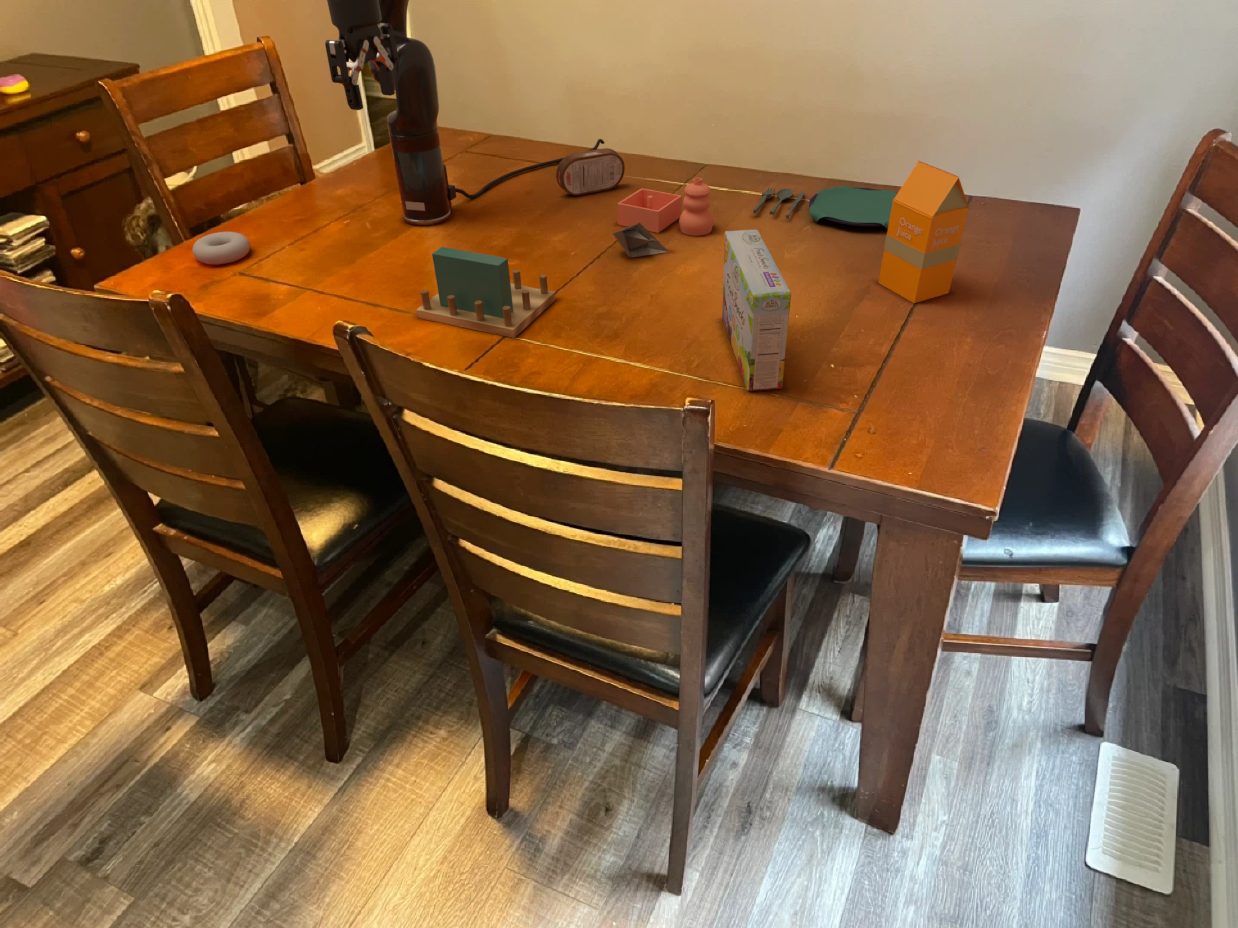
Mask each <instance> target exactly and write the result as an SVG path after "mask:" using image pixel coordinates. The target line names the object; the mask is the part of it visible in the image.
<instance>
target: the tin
mask: <svg viewBox="0 0 1238 928" xmlns="http://www.w3.org/2000/svg"><path fill="white" fill-rule="evenodd" d="M564 157H565V158H564ZM564 157H562V158H563V159H562V161H561V162H559V163H558V165H557V168H556V173H555V176H556V177H555V178H556V182H557V185H558V186H559V188H561V189H562V190H563V191H564V192H565V193H567V194H569V195H571V196H583V195H587V194H594V193H599V192H604V191H609V190H613V189H614V188H617V186H619V184H620V183H621V181H622V180H623V178H624V175H625V170H626V169H625V168H626V167H625V166H626V165H625V161H624V159H623V158H622V156H620V154H618V152H617V151H616V150H614V149H612V148H609V147H605V148H597V149H596V150H591V151H588V150H585V151H579V152H573V153H569V154H567V155H566V156H564Z"/></svg>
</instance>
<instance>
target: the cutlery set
mask: <svg viewBox="0 0 1238 928" xmlns="http://www.w3.org/2000/svg"><path fill="white" fill-rule="evenodd" d="M775 190H776V188H775V187H774V188H773V187H771V188H770V187H767V189H766V190H765V191H764V192H762V193H761V200H760V201H759V202H758V204H757V205H756V206H755V207H754V208H753V211H752V214H758V212H759V210H760V209H761V208H763V205H764V203H765V202H766V200H769V199H772V197H773V195H774V192H775ZM897 194H898V192H895V191H892V190H882V189H876V188H869V187H854V186H847V185H846V186H845V185H843V186H836V187H830V188H825V189H821V190H819V191H818V193H815V194H813V196H811V198H809V202H808V207H809V215H810V217H811V218H812V220H813V221H814V222H815V223H818V221H819V220H820V219H823V220H827V221H829V222H833V223H836V224H841V225H847V226H853V227H885V229H888V225H889V220H890V214H891V209H892V203H893V199H894V198H895V197H896V195H897ZM793 195H794V191H793V190H792V189H791V188H783V189H779V190H778V191H777V192H776V198H778V199H779V200H778V201H777V202H776V203H775V204H774V206H773V207H772V208H771V210H770V211H769V216H770V215H771V216H774V215H775V214H776V211H777V210H778V208H779V206H780V205H781V204H782V202H783V201H786V200H789V199H790V198H792V197H793ZM804 196H805V191H803V190H801V191H800V193H799V194H798V196H797V198H796V199H795V201H794V200H793V201H791V202H792V203H791V204H790V205H791V206H790V209H789V211H788V213H787V214H785V219H787V220H789V219H790V216H791V214H792V212H793V211H794V209H796V208H799V203H800V202H801V201H802V199H803V198H804Z"/></svg>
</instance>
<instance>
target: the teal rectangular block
mask: <svg viewBox="0 0 1238 928" xmlns="http://www.w3.org/2000/svg"><path fill="white" fill-rule="evenodd" d="M431 256H432V262H433V269H434V273H435V274H434V275H435V280H436V286H437V292H438V293H439V299H440V305H441V306H445V307H449V306H448V299H447V297H448V296H449V295H454V296H455V301H456V307H457V309H459V310H464V311H469V312H474V313H476V310H475V301H482V304H483V312H484V315H489V316H494V317H499V318H504V317H503V307H504V306H509V307H510V309H511V313H512V312H513V303H512V294H511V284H512V283H511V277H510V276H511V275H510V267H509V258H508V257H502V256H497V255H491V254H487V253H486V254H484V253H479V252H474V251H469V250H462V249H457V248H450V247H445V246H441V247H439V248H438V249H437V250H435V251H433V252H432V253H431ZM510 283H511V284H510ZM438 293H437V294H438Z"/></svg>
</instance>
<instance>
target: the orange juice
mask: <svg viewBox="0 0 1238 928" xmlns="http://www.w3.org/2000/svg"><path fill="white" fill-rule="evenodd" d="M897 193H898V194H897V195H896V197H895V198H894V199H893V203H892V209H891V214H890V220H889V225H888V228H887V232H886V235H885V241H884V245H883V254H882V259H881V265H880V272H879V276H878V282H877V283H878V284H880V285H881V286H883V287H885V288H886V289H888V290H889V291H891V292H893V293H895V294H897V295H898V296H901V297H902V298H903V299H906V300H907V301H909V302H911V303H913V304H918V303H920V302H923V301H927V300H930V299H935V298H937V297H940V296H945V295H946V294H949V293H950V291H951V290H950V289H951V285H952V280H953V276H954V273H955V267H956V263H957V260H958V256H959V253H960V249H961V243H962V238H963V234H964V230H965V226H966V221H967V218H968V212H969V209H970V206H969V203H968V200H967V197H966V194H965V191H964V188H963V186H962V182H961V180H960V176H958V175H956V174H953V173H951V172H948V171H947V170H943V169H941V168H938V167H936V166H933V165H931V164H928V163H925V162H922V161H921V160H917V162H916V164H915V166H914V167H913V168H912V170H911V172H910V173H909V175H908V177H907V178H906V180H905V181H904V183H903V184H902V186H901V188H900V189H899V190H898V192H897Z"/></svg>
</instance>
